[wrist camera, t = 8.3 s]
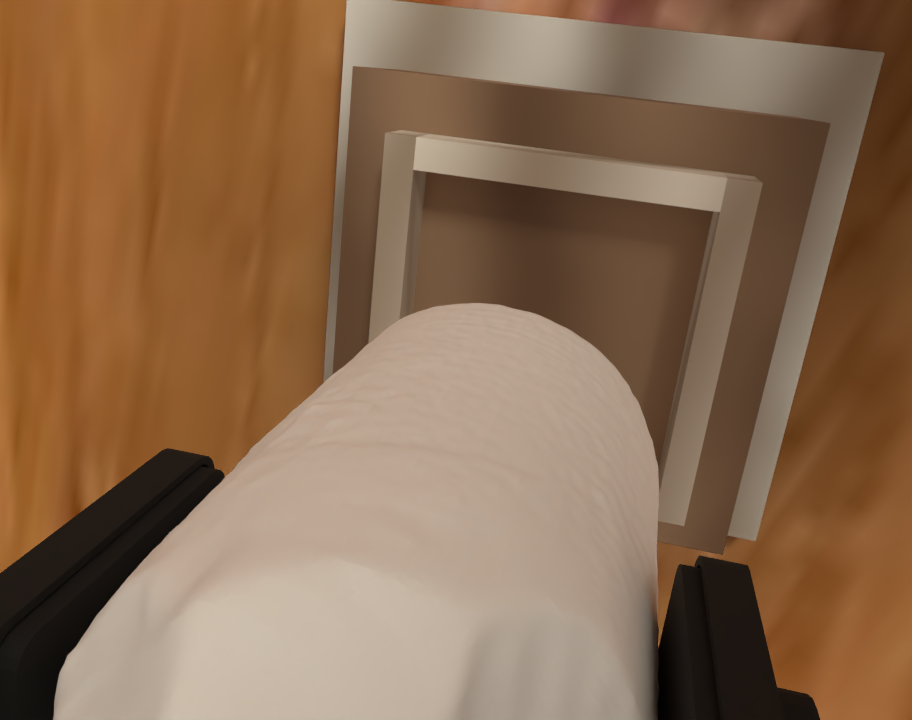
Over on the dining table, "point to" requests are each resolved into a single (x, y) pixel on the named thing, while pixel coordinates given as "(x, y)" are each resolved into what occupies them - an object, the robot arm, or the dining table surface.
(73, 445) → the dining table surface
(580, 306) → the tower base
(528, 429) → the roll
